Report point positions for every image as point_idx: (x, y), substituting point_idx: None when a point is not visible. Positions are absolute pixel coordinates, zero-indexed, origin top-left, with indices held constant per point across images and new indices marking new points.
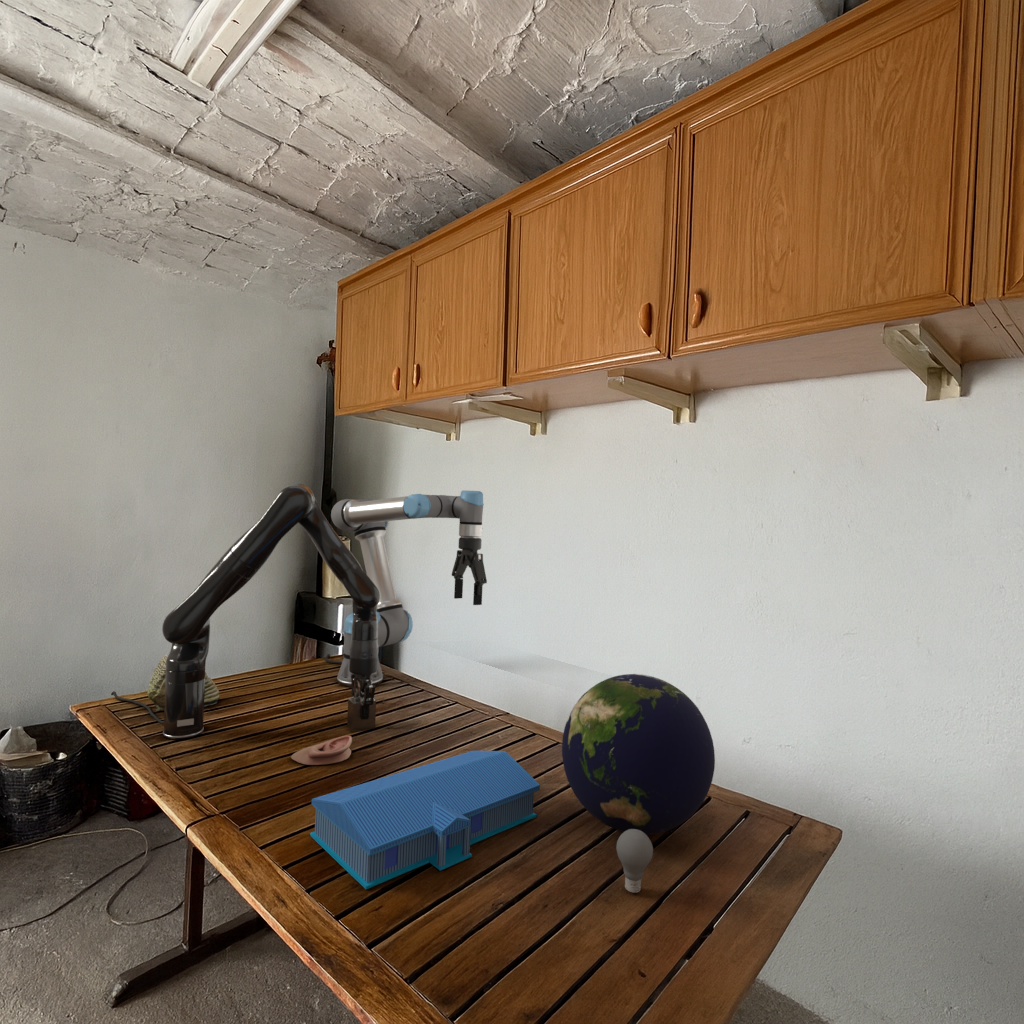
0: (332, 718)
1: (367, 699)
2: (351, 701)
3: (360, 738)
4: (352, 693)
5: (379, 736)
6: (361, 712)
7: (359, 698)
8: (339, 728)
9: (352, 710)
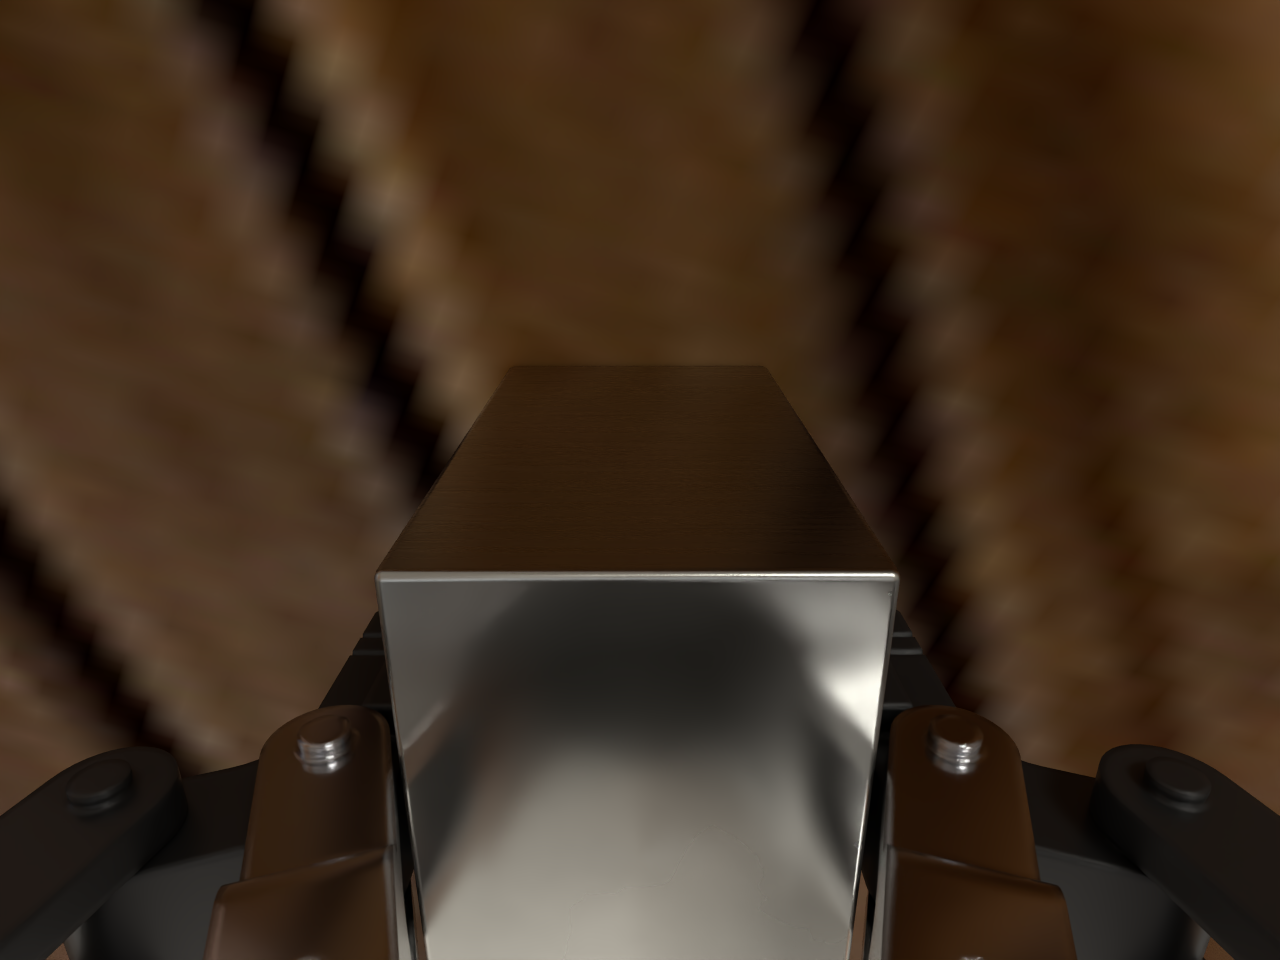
0: (1237, 263)
1: (415, 953)
2: (555, 573)
3: (227, 398)
4: (1156, 787)
5: (235, 632)
6: None
7: (728, 821)
8: (746, 235)
9: (464, 482)
